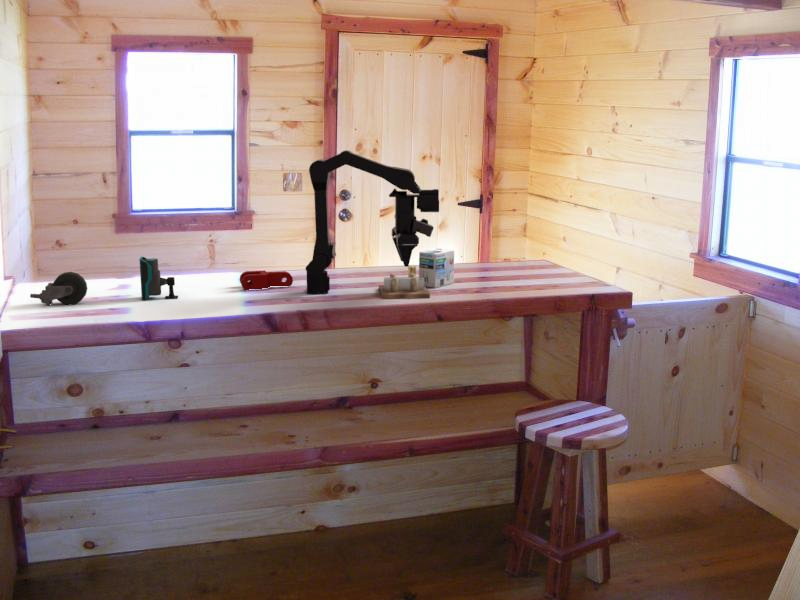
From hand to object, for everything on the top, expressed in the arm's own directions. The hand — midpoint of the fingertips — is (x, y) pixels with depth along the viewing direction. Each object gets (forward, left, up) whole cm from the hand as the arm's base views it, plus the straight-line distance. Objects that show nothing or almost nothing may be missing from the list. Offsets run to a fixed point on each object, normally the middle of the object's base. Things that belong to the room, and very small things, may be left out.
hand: (404, 263), depth 273 cm
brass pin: (+4, +12, -9) cm, 16 cm away
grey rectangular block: (0, 0, -8) cm, 8 cm away
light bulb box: (+12, +13, -9) cm, 20 cm away
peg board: (0, 0, -9) cm, 9 cm away
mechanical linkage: (-42, +12, -10) cm, 44 cm away
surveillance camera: (-72, -1, -9) cm, 73 cm away
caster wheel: (-99, -7, -9) cm, 100 cm away
